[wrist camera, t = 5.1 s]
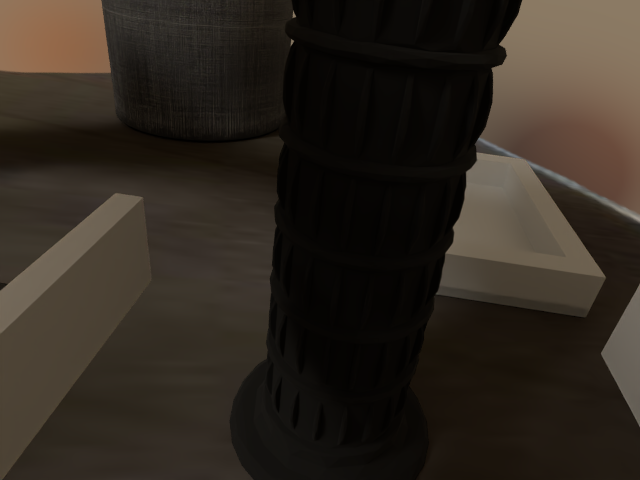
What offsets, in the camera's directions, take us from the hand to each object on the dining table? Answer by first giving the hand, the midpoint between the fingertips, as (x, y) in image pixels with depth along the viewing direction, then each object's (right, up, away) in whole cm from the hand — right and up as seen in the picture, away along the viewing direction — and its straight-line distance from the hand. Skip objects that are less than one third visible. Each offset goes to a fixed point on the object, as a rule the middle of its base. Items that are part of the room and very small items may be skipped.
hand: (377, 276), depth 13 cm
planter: (-17, +18, +51) cm, 57 cm away
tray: (+8, +3, +31) cm, 32 cm away
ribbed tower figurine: (-1, -8, +11) cm, 14 cm away
